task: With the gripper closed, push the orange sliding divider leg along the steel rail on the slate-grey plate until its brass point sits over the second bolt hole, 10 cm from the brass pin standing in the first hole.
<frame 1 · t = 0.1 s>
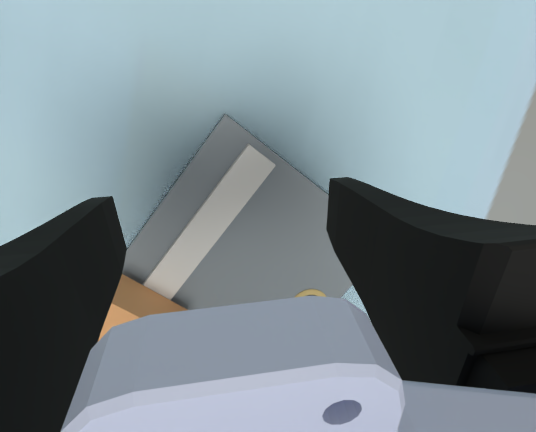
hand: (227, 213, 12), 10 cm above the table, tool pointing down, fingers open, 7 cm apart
divider leg: (182, 360, 22), point 3 cm above the table, slide at 0.0 cm
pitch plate: (221, 292, 25), on the table
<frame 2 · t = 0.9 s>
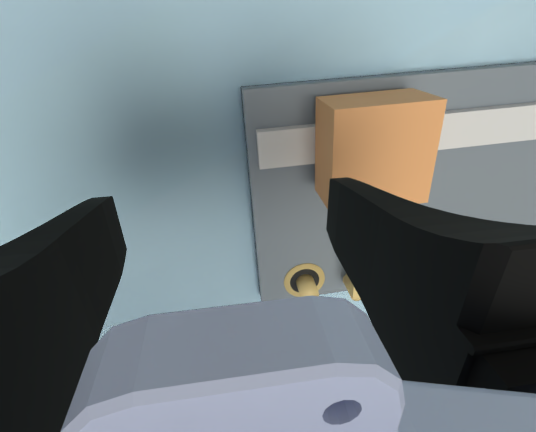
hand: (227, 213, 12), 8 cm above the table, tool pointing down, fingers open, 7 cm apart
divider leg: (365, 215, 19), point 3 cm above the table, slide at 0.0 cm
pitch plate: (406, 188, 22), on the table
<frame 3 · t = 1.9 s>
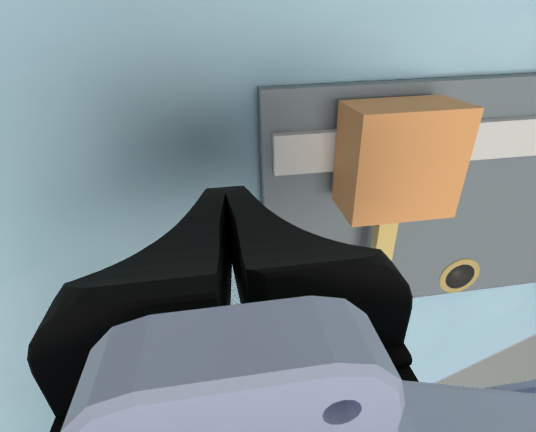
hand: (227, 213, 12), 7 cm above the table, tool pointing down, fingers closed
divider leg: (385, 228, 18), point 3 cm above the table, slide at 0.0 cm
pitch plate: (425, 199, 21), on the table
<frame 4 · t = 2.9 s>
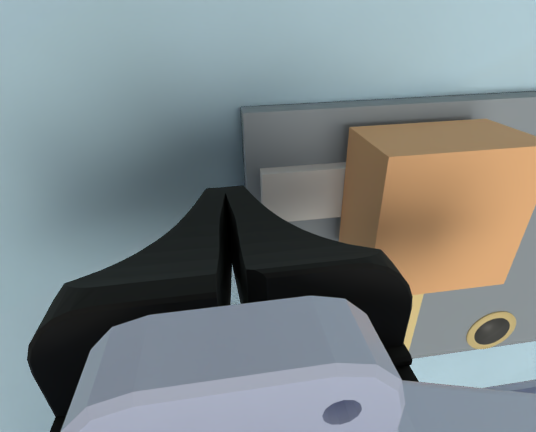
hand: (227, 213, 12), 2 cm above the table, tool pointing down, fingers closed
divider leg: (407, 289, 14), point 3 cm above the table, slide at 0.0 cm
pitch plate: (453, 242, 17), on the table
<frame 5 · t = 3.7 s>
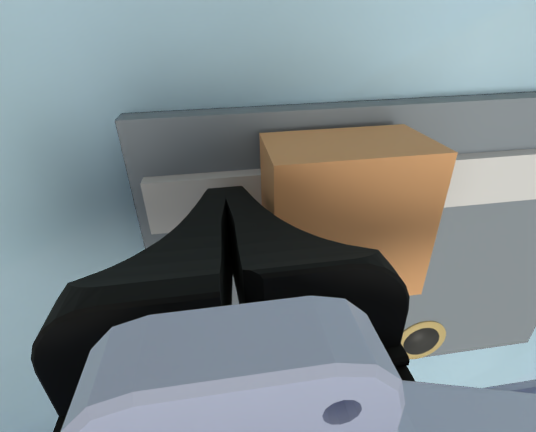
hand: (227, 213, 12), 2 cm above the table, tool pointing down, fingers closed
divider leg: (333, 298, 13), point 3 cm above the table, slide at 1.1 cm, touching gripper
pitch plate: (372, 251, 17), on the table
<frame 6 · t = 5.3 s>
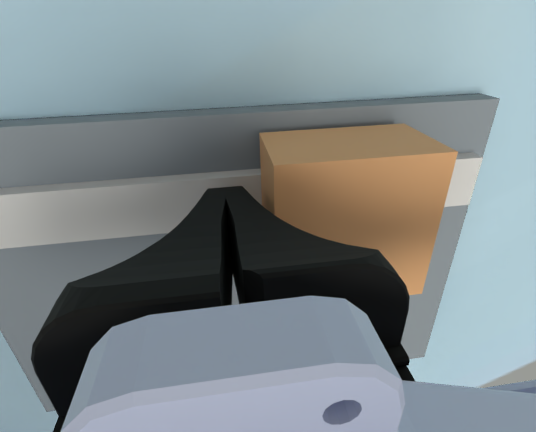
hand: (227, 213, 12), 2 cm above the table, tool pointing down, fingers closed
divider leg: (333, 298, 13), point 3 cm above the table, slide at 7.6 cm, touching gripper
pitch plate: (236, 265, 16), on the table
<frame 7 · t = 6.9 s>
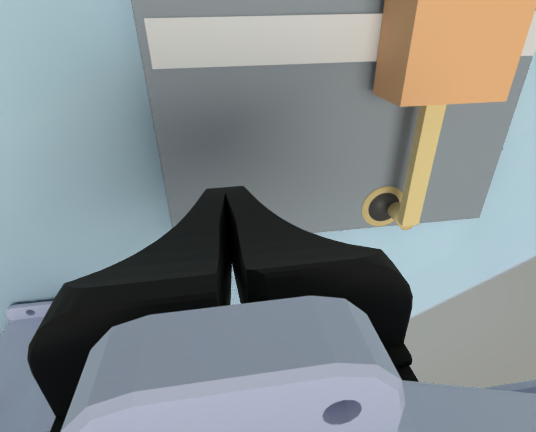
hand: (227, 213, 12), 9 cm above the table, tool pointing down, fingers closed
divider leg: (428, 123, 17), point 3 cm above the table, slide at 7.6 cm
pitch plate: (339, 116, 20), on the table
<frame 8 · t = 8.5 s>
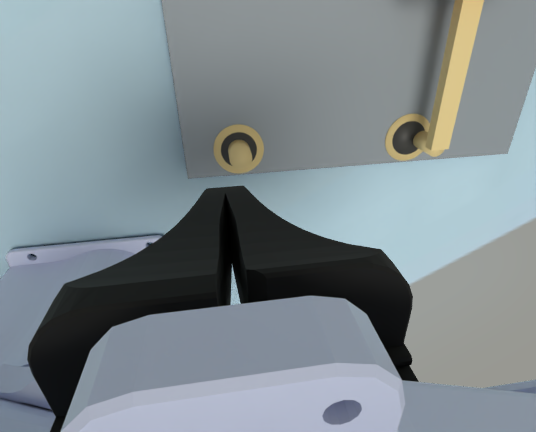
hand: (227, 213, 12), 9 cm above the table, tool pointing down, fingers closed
divider leg: (463, 27, 16), point 3 cm above the table, slide at 7.6 cm
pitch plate: (362, 33, 18), on the table
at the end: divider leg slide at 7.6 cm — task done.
